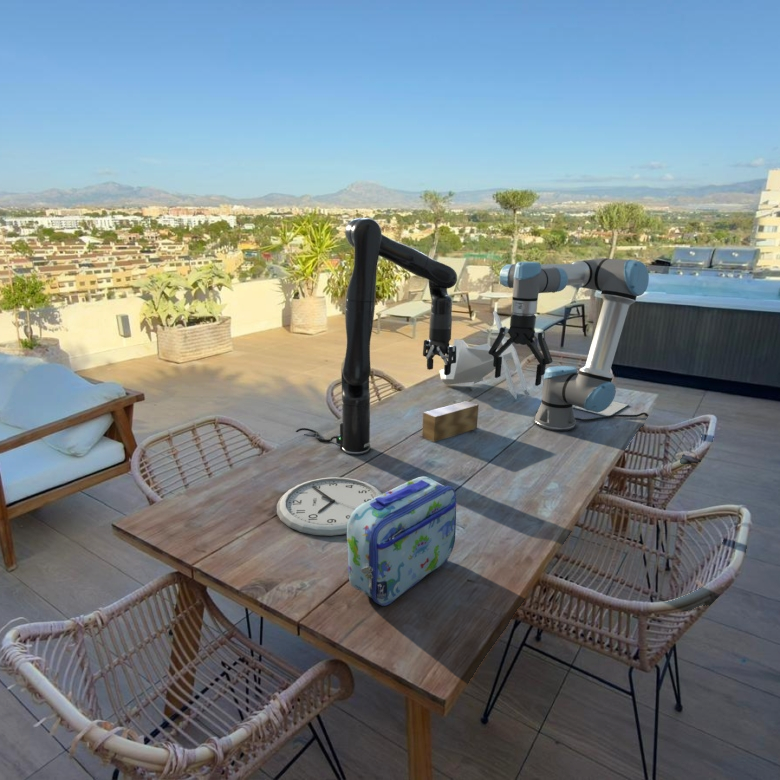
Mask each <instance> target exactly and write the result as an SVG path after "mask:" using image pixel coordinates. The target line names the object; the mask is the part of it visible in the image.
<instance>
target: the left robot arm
mask: <svg viewBox="0 0 780 780" xmlns="http://www.w3.org/2000/svg"><path fill="white" fill-rule="evenodd" d="M382 232H383V231H382V229H381V226H380V224H379V223H378V222H377V221H376V220H375V219H373V218H368V217H367V218H365V217H359V218H354V219H351V221H349V222H348V223H347V225H346V226H345V230H344V237H345V239H346V241H347V243H348V244H349V246H351V247H352V248H354V259H353V261H354V263H353V264H354V265H353V269H352V273H351V276H350V279H349V281H348V285H347V287H346V293H345V302H344V303H345V304H344V320H345V321H344V322H345V334H346V349H345V355H344V358H343V359H342V362H341V367H340V368H341V371H340V373H341V377H340V378H341V411H342V413H341V414H342V415H341V417H342V419H341V420H342V421H341V422H340V423H339V434H337V435H334V436H331V437H330V438H328V439H324V438H321V437H319V435H320V433H319V431H317V430H314V429H311V428H308V427H307V428H306V427H301V428H298V429H296V430H295V433H299V432H300V431H307V432H311V433H314V434H315V436H314V437H315V440H317V441H320V442H324V443H325V442H326V443H329V442H332V441H333V440H335V442H336V444H337V445H339V449H340V450H341V451H343V453H345V454H348V455H352V456H353V455H355V456H356V455H357V456H358V455H365V454H367V453H369V451H370V450H371V443H370V442H371V441H370V440H371V429H370V428H371V392H370V391H371V390H370V376H371V372H372V368H371V338H372V333H373V326H374V321H375V320H374V318H375V309H376V308H375V307H376V290H377V273H378V263H379V257H381V258H383V259H386V260H387V261H389V262H391V263H392V264H394V265H396V266H398V267H400V268H402V270H403V269H404V270H405V271H407V272H409V273H411V274H413V275H415V276H417V277H419V278H422V279H425V280H428V281H427V283H428V289H429V295H430V301H431V302H430V316H429V327H428V339H424V340H423V348H422V356H423V357H425V359H426V369H427V370H428V371H430V370H433V369H434V358H435V356H438V357H440V359H442V360H443V362H444V364H443V369H444V375H449V374H450V372H451V364H453V363H456V346H453V345H450V342H451V340H452V327H453V317H452V312H453V311H452V310H453V298H452V297H451V296H450V295H449V293H448V289H451V288H453V287H454V286H456V284H457V283H458V274H457V271H456V270H455V269H454V268H452V267H451V266H450V265H447V264H445V263H443V262H440V261H438V260H435V259H434V258H432V257H430V256H428V255H426V254H425V253H423V252H421V251H419V250H417V249H415V248H413V247H410V246H408V245H406V244H403V243H401V242H398V241H397V240H393V238H390V237H388V236H387V235H384V234H383V233H382ZM452 357H453V360H452Z"/></svg>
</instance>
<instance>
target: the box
mask: <svg viewBox="0 0 780 780" xmlns="http://www.w3.org/2000/svg"><path fill="white" fill-rule="evenodd" d="M478 419H479V404H478V403H474V402H472V401H469V400H464V401H460V402H456V403H453V404H449V405H445V406H441V407H438V408H437V407H436V408H434V409H431V410H427V411H423V412H422V432H421V433H422V434H421V435H422V438H424V439H426V440H428V441H430V442H433V443H436V442H438V441H439V442H440V441H442V440H446V439H448V438H452V437H455V436H457V435H462V434H464V433H467V432H471V431H473V430H477V429H478Z"/></svg>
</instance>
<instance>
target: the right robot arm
mask: <svg viewBox="0 0 780 780" xmlns="http://www.w3.org/2000/svg"><path fill="white" fill-rule="evenodd" d="M499 282H500V284H501V285H502V286H503V287H505V288H509V289H512V299H511V309H510V311H511V314H510V320H509V327H507V326H502V328H500V331H498V335H497V337H496V338H495V340H494V342H493V344H492V345H491V346H490V347H491V349H490V350H489V352H488V353H489V354H490V355H492V356H493V357H494V362H493V366H494V367H496V368H495V369H494V378H496V379H498V378H500V377H501V375H502V357H499V356H500V355H501V354H502V353H503V352H504V351H505V350H506V349H507V348H508V347H509V346H510V345H511V344H512V345H513V343H514V344H515V345H522V346H527V347H528V348H529V350H530V351H531V352H532V354H533V356H534V357H535V359H536V360H537V362H538V364H536V373H535V382H534V386H536V387H538V386H540V385H541V384H542V392H541V402H540V405H539V407H538V410H537V411H536V412H535V417H534V424H535V425H536V426H537V427H539V428H542V429H544V430H549V431H556V432H567V431H572V430H574V429H575V428H576V421H579V422H591V421H592V422H593V421H599V420H604V419H609V418H610V419H611V418H637V417H641V416H645V417H649V414H648V413H647V412H640V413H638V414H613V415H609V416H604V415H603V416H599V417H598V416H597V417H593V418H592V417H591V418H580V417H576V416H575V413H574V407H576V406H578V407H581V408H584V409H586V410H589V411H594V412H601V411H604V410H605V409H606V408H607V407H609V405H610V404H611V403H612V401H614V400H615V398H616V397H615V396H616V394H617V393H616V392H617V388H616V385H615V384H614V383H613V378H614V377H613V375H612V374H611V369H612V365H613V362H614V360H615V356H616V352H617V349H618V346H619V342H620V339H621V335H622V332H623V328H624V326H625V322H626V318H627V316H628V312H629V308H630V306H631V305H632V304H634V303H636V301H637V297H640V296H642V295H644V294H645V292H646V291H647V290H648V286H649V282H650V276H649V269H648V267H647V266H646V264H645V263H644V262H642V261H640V260H634V259H630V258H629V259H624V258H623V259H622V258H605V257H602V258H601V257H600V258H594V259H584V260H575V261H573V262H572V263H549V264H547V263H545V264H541V262H538V261H518V262H517V263H516V264H514V263H512V264H506V265H504V266H503V267H502V268H501V270H500V272H499ZM567 286H571V287H573V288H574V289H575V288H576V289H581V288H582V289H588V290H593V291H597V292H601V293H600V297H601V299H602V300H603V302H602V305H601V308H600V313H599V316H598V319H597V323H596V326H595V329H594V333H593V336H592V340H591V344H590V347H589V351H588V354H587V358H586V361H585V364H584V366H583V367H581V368H579V370H578V368H577V367H575V366H571V365H570V366H569V365H557V366H556V365H555V366H550V367H546V366H547V365H549V364H552V363H553V358H552V355H551V352H550V350H549V347H548V344H547V341H546V333H545V331H539V332H538V331H536V330H535V329H536V322H537V321H536V319H537V316H536V314H537V312H538V311H537V310H538V301H539V294H548V293H551V294H555V293H558V292H561V291H563V290H564V289H566V288H567ZM507 334H508V335H509V338H508V339H506V340H507V342H506V343H505V344H504V345H501V344H502V340H503V338H504V336H505V337H506V335H507ZM534 338H535V339H536V340H537V342H538V345H539V348H540V349H539V348H538V346H537V345H536V342H535V340H534ZM500 345H501V347H500ZM498 349H499V350H498ZM496 350H498V351H497V352H496ZM542 377H543V378H542ZM542 379H543V381H542ZM573 406H574V407H573Z"/></svg>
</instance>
